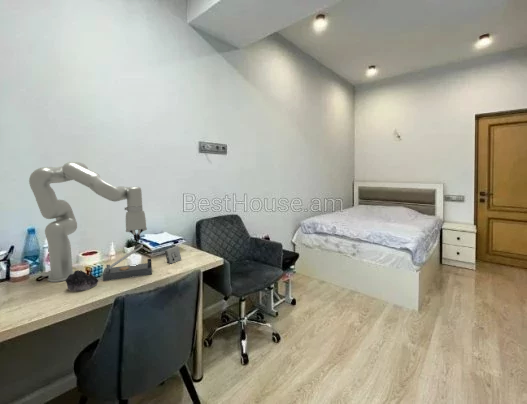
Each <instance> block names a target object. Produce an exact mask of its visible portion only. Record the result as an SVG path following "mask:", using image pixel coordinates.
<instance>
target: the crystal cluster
mask: <svg viewBox="0 0 527 404" xmlns="http://www.w3.org/2000/svg"><path fill="white" fill-rule="evenodd" d="M73 272H74V274H70V275H69V276H68V278H67V279H66V280H65V283H66V287H67V289H68V290H69V291H70V292H80V291H88V290H90V289H91V288H94V287H96V286H97V285H98V282H99V280H98V278H97V277H95V276H94V275H93V274H91V273H90V274H89V275H88V274H87V273H86V272H85V271H83V270H79V269H78V270H75V271H73Z"/></svg>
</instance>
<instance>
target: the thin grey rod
mask: <svg viewBox="0 0 527 404" xmlns="http://www.w3.org/2000/svg"><path fill="white" fill-rule="evenodd" d="M142 248H143V244H140V243H139V244H137V245H135V246H134V249H133V250H132V251H130V252H128V253H127V254H125V255H124V256H123V257H121V258H119V259H118V260H117V261H115V262H114V263H112V264H110V266H109V269H111V268H112V267H116V266H117V265H118V264H120V263H121V262H122V261H124V260H126V259H127V258H129V257H130V256H131V255H133V254H134V253H135V252H137V251H139V250H140V249H142Z"/></svg>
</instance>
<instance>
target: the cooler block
mask: <svg viewBox="0 0 527 404" xmlns="http://www.w3.org/2000/svg"><path fill="white" fill-rule="evenodd" d="M130 265H131V264H130ZM130 265H128V264H127V265H121V266H114V267H112V268H111V269H109V266H111V264H106V267H105V268H104V270H103V272H102V281H103V282H108V281H116V280H122V279H129V278H136V277H142V276H143V277H144V276H151V275H153V271H152V270H153V267H152V266H153V265H152V258H147V262H146V263H139V264H138V265H136V264H135V265H136V266H130Z"/></svg>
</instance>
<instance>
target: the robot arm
mask: <svg viewBox="0 0 527 404" xmlns="http://www.w3.org/2000/svg"><path fill="white" fill-rule="evenodd" d="M71 181H75V182H77V183H78V184H81V185H83V186H85V187H87V188H88V189H90V190H91V191H93V192H94V193H95V194H96V195H98V196H100V197H102V198H103V199H106V200H108V201H111V202H114V203H115V202H120V201H123V200H126V205H127V206H126V207H124V211H125V232H126V233H131V234H132V235H133V240H134V241H135V243H139V242H140V240H141V234H142V232H146V231H147V230H148V228H147V219H146V213H145V211H144V210H143V209H144V208H143V196H142V195H143V194H142V192H143V191H142V188H141V187H140V186H113V185H111V184H110V183H107V182H105V181H104V180H102V178H101V176H100V174H98V173H97V172H95V171H93V170H91V169H89V168H88V166H87V165H86V164H84V163H82V162H78V161H76V162H75V161H69V162H67V163H64V165H62V166H58V167H53V166H44V167H38V168H37V169H35V170H33V172H31V174H30V176H29V180H28V182H29V183H28V184H29V187H30V189H31V192H32V193H33V195H34V198H35V201H36V203H37V205H38V206H37V207H38V209H39V212H40V215H41V216H42V217H43V218H44V219H46V220H47V219H48V220H53V219H55V220H54V221H51V222H50V223H48V224H47V225H46V226H45V229H44V234H45V238H46V242H47V247H48V256H49V266H50V270H49V271H44V272H41V273H40V276H41V277H42V278H44V277H47V281H48V282H50V283H51V282H52V283H58V282H66V279H67V278H68V276H69V275H70V274H74V272H75V271H74V270H73V258H72V257H73V256H72V247H71V246H72V245H71V241H70V238H69V235H72V234H73V233H75V232H76V231H77V229H78V223H77V222H78V221H77V219H76V216H75V214H74V212H73V208H72V207H71V205H70V203H69V202H68V201H66V200H65V199H64V200H63V199H58V198H57V195H56V192H55V190H54V189H53V187H51V184H60V183H65V182H66V183H67V182H71ZM136 231H137V233H136Z"/></svg>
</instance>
